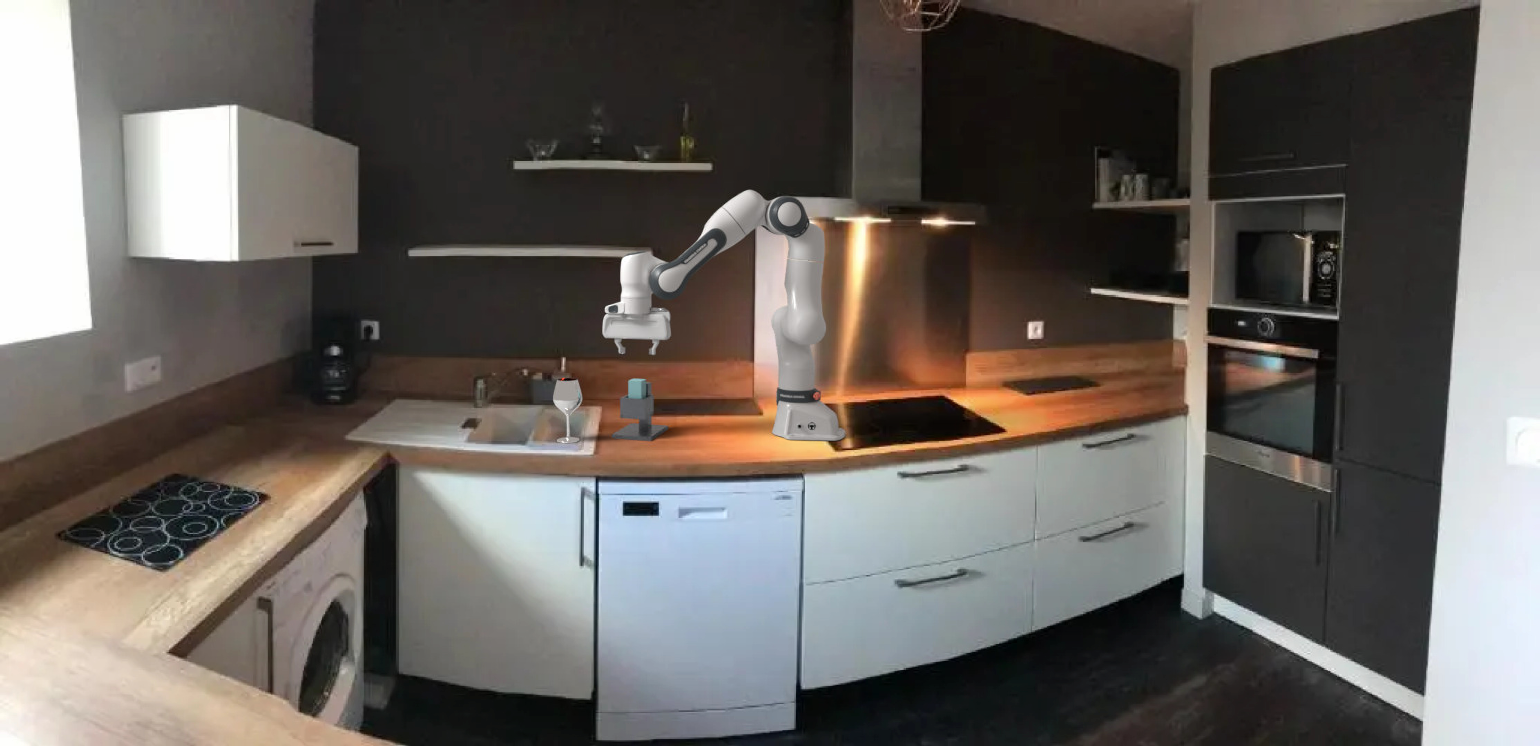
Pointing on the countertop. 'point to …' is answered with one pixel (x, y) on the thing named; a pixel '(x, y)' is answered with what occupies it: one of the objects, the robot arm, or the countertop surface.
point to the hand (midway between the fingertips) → (637, 354)
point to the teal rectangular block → (637, 388)
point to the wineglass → (567, 402)
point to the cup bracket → (643, 412)
